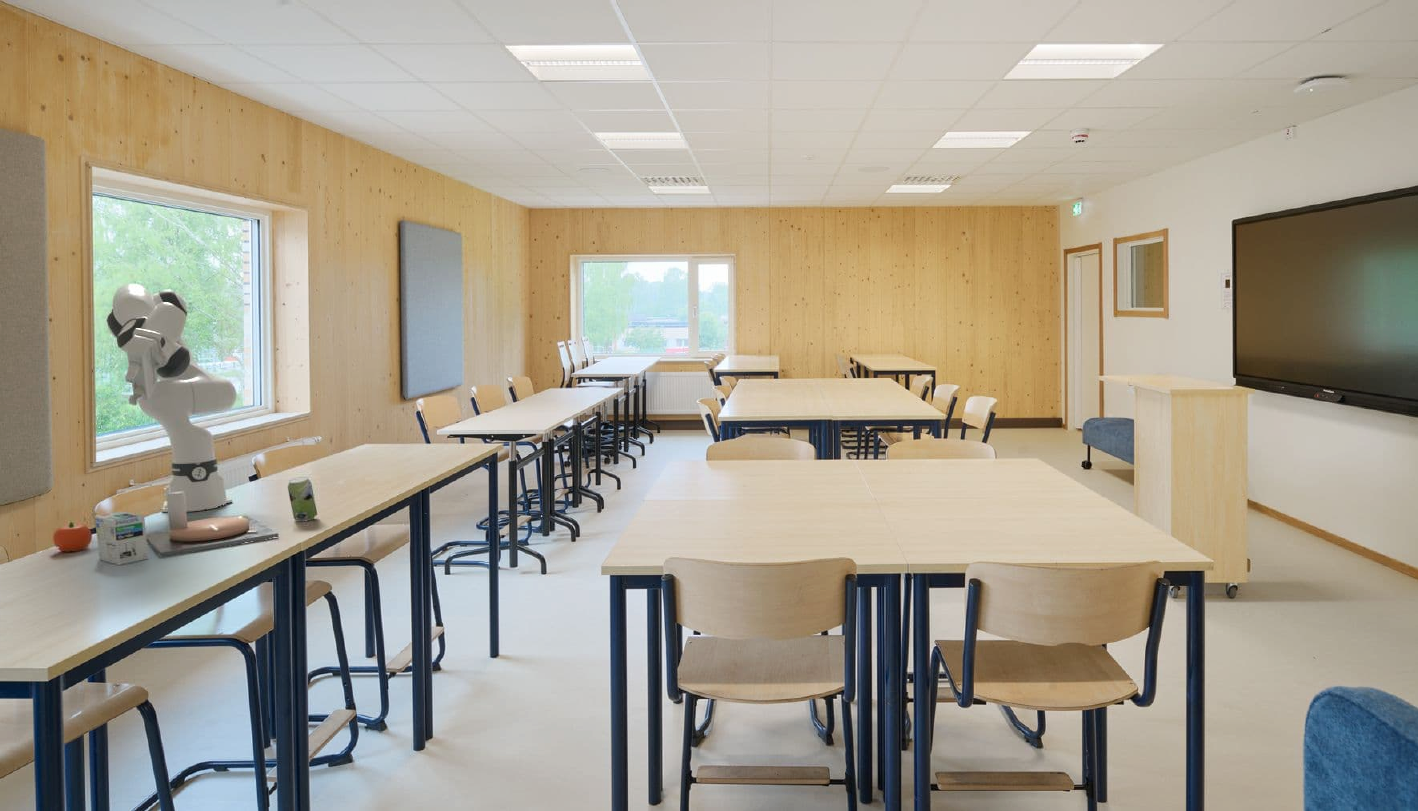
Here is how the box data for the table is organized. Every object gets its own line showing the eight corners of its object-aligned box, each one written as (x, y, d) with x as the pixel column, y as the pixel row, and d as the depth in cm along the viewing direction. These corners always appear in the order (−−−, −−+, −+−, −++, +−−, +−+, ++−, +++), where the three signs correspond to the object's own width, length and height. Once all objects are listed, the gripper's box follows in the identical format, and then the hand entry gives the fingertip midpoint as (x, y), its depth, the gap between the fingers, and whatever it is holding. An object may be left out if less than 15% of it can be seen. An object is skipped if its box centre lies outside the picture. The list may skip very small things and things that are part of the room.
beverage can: (321, 517, 254) (318, 475, 253) (307, 523, 246) (304, 480, 245) (300, 517, 254) (297, 475, 253) (285, 523, 247) (282, 480, 246)
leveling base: (143, 538, 234) (142, 528, 234) (252, 521, 250) (252, 512, 250) (161, 557, 214) (160, 546, 214) (278, 537, 230) (277, 527, 230)
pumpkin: (99, 548, 225) (96, 519, 224) (63, 556, 218) (60, 526, 217) (84, 545, 229) (81, 516, 228) (48, 552, 222) (45, 523, 221)
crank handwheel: (163, 532, 233) (159, 491, 232) (240, 521, 245) (236, 481, 243) (176, 545, 219) (172, 500, 218) (257, 532, 231) (253, 490, 230)
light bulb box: (149, 559, 213) (145, 514, 212) (118, 566, 207) (113, 520, 206) (128, 553, 219) (124, 509, 218) (97, 560, 213) (93, 515, 212)
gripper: (141, 373, 244) (120, 413, 235) (134, 324, 230) (112, 364, 221) (167, 379, 246) (147, 418, 237) (161, 330, 231) (140, 370, 223)
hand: (130, 392), depth 229 cm, fingers open, 8 cm apart
